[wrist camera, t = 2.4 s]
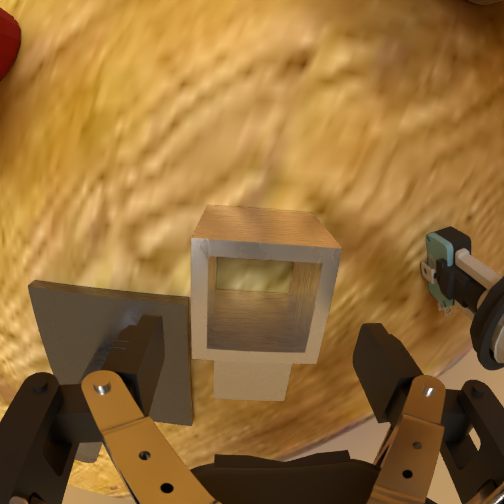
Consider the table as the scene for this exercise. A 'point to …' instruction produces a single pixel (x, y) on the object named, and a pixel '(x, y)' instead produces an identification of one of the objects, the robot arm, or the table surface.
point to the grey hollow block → (260, 299)
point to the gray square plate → (113, 341)
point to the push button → (467, 291)
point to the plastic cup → (8, 41)
